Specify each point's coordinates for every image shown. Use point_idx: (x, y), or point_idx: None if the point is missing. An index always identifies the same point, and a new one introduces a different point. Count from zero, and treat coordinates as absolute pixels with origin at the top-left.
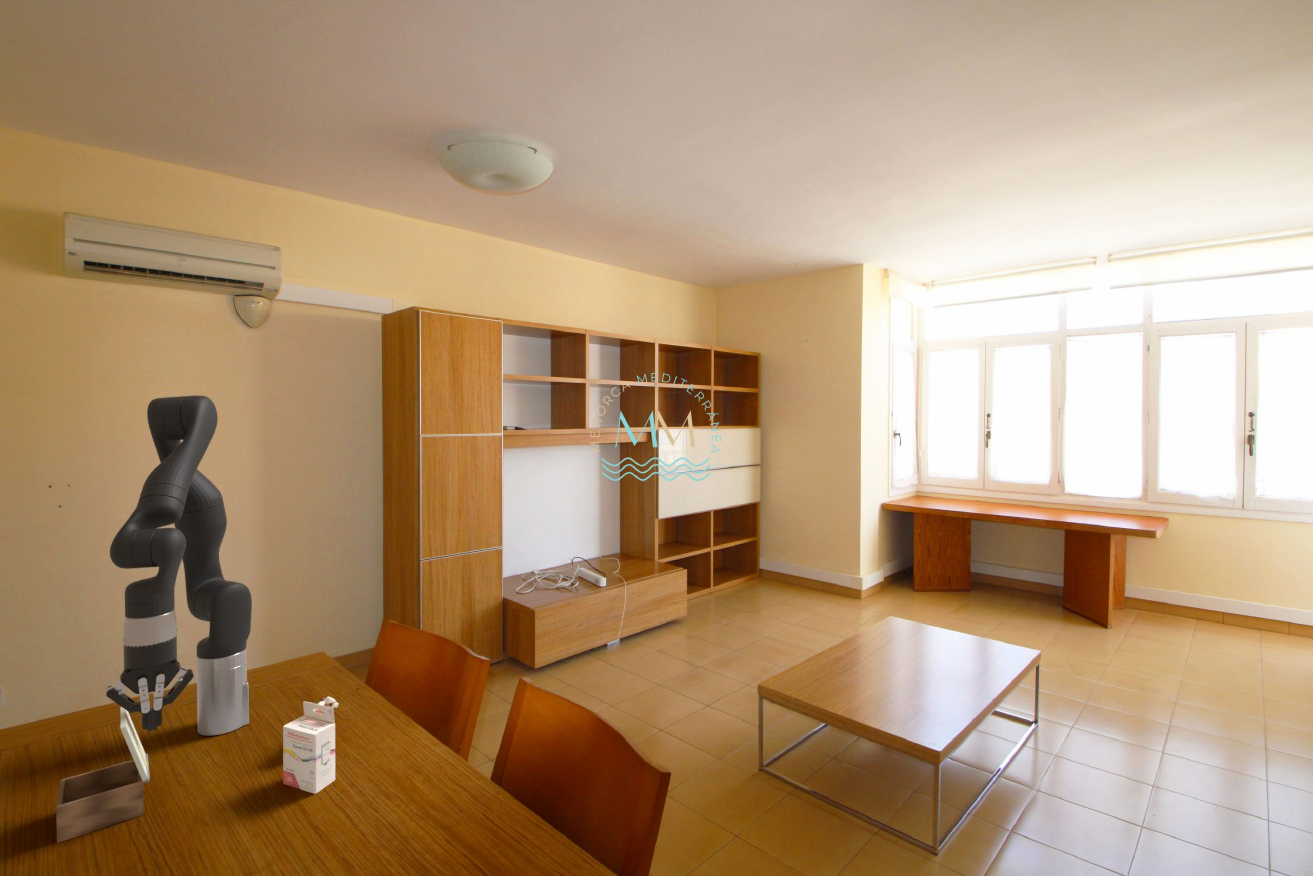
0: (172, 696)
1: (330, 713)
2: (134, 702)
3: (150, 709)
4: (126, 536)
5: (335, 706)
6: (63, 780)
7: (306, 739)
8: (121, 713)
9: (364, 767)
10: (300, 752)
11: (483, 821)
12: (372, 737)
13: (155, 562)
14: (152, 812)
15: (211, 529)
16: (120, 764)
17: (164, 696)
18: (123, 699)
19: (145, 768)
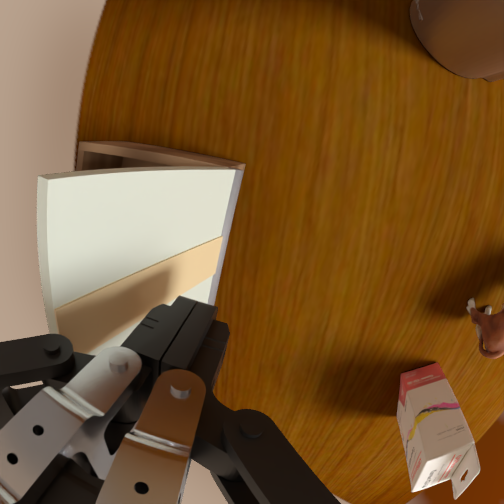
0: (239, 491)
1: (454, 490)
2: (51, 383)
3: (153, 377)
4: None
5: None
6: (82, 150)
7: (412, 476)
8: (43, 284)
9: (462, 401)
10: (409, 450)
11: (402, 493)
12: None
13: None
14: (233, 283)
15: None
16: (177, 165)
17: (210, 446)
18: (3, 425)
19: (203, 297)
